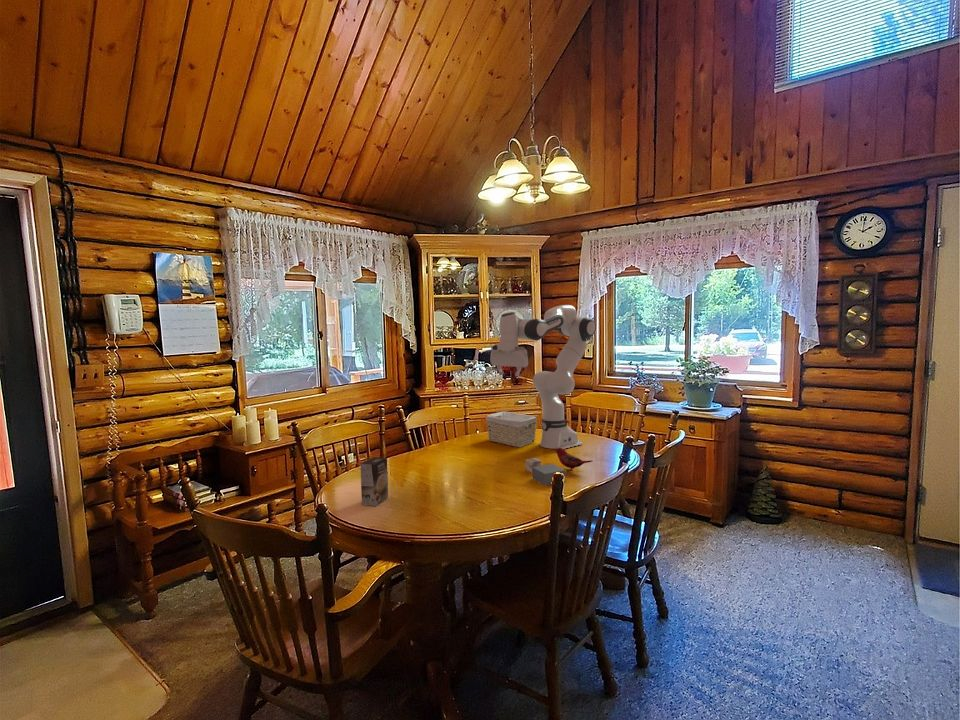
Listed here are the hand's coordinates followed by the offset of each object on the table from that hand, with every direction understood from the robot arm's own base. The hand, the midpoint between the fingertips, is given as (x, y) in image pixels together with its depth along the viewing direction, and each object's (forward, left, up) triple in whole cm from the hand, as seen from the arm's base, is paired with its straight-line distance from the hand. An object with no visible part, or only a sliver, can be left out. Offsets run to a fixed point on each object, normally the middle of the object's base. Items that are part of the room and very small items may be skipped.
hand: (509, 375), depth 243 cm
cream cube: (0, +22, -41) cm, 46 cm away
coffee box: (+72, +25, -41) cm, 86 cm away
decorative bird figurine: (-15, +31, -41) cm, 53 cm away
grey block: (+1, +36, -41) cm, 54 cm away
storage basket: (-15, -26, -41) cm, 51 cm away
